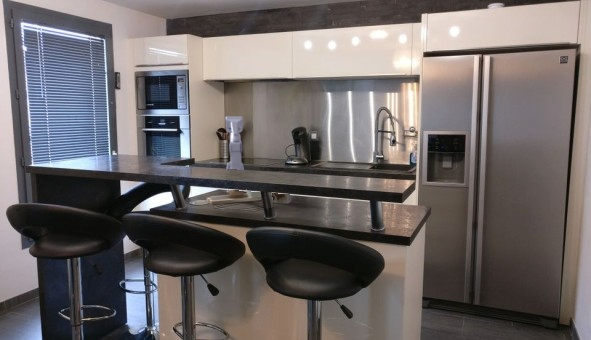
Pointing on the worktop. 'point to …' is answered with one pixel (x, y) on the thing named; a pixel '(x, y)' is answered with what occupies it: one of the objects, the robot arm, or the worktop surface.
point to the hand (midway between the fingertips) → (236, 189)
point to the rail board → (230, 199)
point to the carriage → (235, 193)
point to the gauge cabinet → (253, 194)
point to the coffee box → (281, 195)
